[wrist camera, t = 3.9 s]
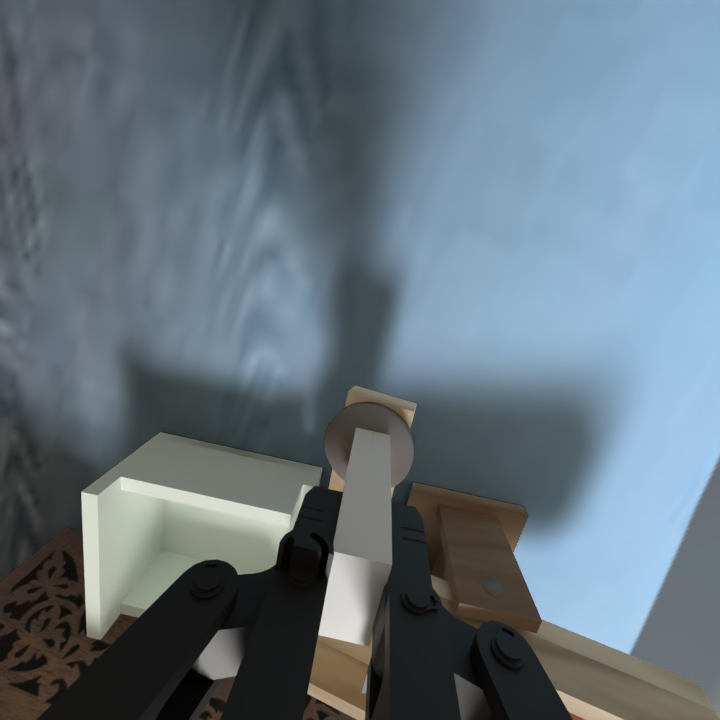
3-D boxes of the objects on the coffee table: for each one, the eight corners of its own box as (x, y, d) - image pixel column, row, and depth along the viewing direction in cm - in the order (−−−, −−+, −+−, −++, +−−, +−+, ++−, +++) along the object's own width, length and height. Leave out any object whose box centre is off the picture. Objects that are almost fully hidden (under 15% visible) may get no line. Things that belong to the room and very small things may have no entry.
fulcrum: (412, 481, 22) (424, 584, 15) (523, 506, 22) (586, 621, 15) (377, 605, 25) (373, 737, 18) (475, 627, 25) (508, 769, 18)
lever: (344, 382, 17) (316, 407, 13) (811, 520, 13) (928, 603, 9) (297, 621, 21) (267, 683, 18) (631, 780, 17) (668, 895, 14)
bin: (160, 432, 22) (81, 491, 17) (322, 467, 22) (299, 540, 16) (155, 550, 25) (86, 636, 19) (300, 583, 25) (273, 680, 19)
